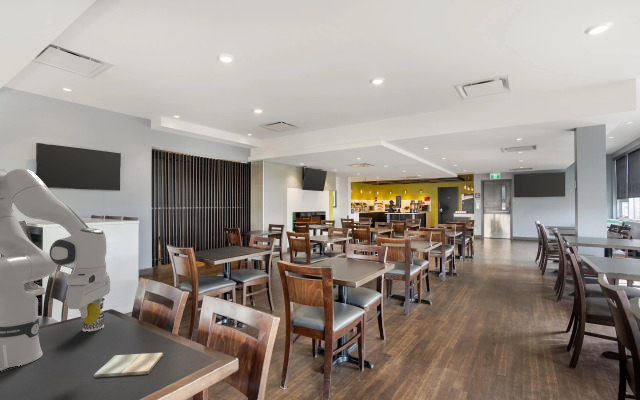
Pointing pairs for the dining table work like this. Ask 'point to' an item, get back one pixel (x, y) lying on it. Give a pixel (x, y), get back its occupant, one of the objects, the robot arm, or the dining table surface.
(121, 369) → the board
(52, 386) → the dining table surface
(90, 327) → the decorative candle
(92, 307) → the lemon
